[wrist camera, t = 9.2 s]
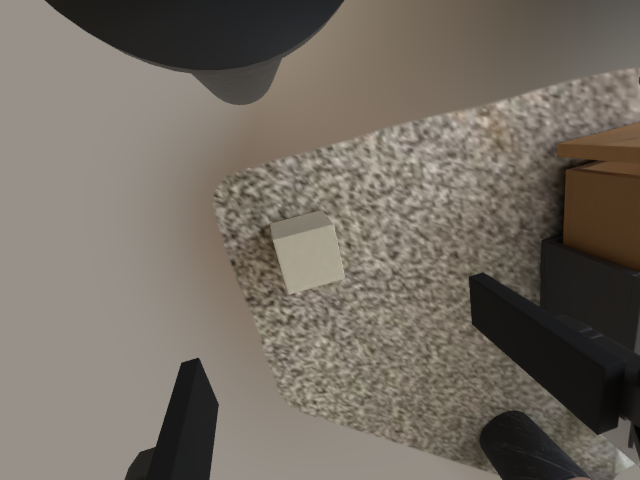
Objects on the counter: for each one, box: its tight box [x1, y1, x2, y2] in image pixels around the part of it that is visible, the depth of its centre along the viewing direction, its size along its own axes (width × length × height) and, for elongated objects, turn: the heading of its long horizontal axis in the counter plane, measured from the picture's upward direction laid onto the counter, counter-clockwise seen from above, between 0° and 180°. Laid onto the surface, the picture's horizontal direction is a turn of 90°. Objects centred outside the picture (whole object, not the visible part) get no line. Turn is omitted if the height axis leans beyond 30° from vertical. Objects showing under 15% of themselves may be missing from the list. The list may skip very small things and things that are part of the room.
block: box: [270, 210, 345, 295], centre depth 27 cm, size 5×5×5 cm
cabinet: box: [541, 235, 640, 421], centre depth 33 cm, size 15×13×10 cm
